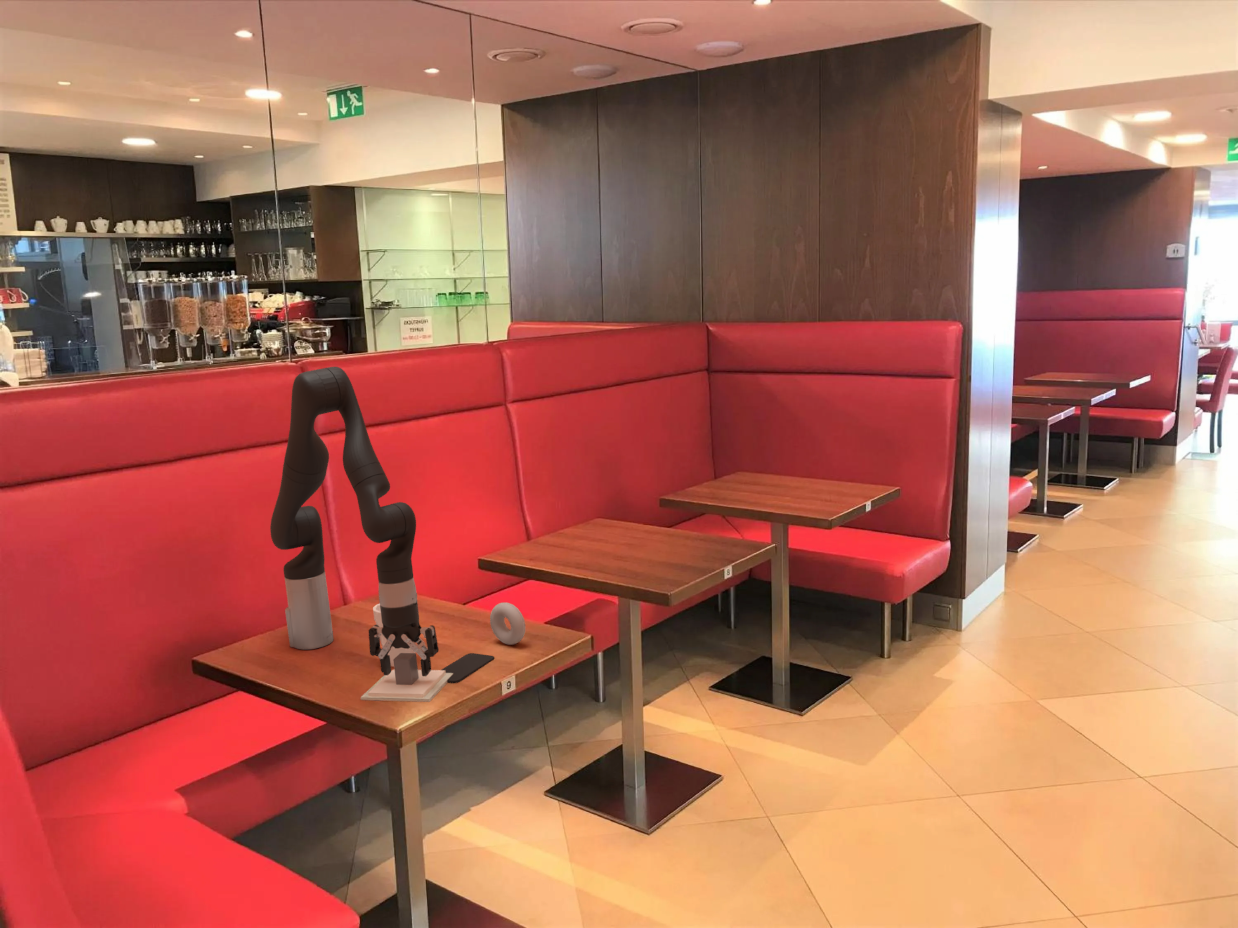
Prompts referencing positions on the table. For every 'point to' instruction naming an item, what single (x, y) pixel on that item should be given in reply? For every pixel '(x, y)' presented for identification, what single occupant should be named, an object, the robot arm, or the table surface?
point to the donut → (500, 626)
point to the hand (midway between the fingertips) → (406, 674)
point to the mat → (427, 698)
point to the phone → (466, 666)
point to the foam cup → (394, 651)
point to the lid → (406, 679)
